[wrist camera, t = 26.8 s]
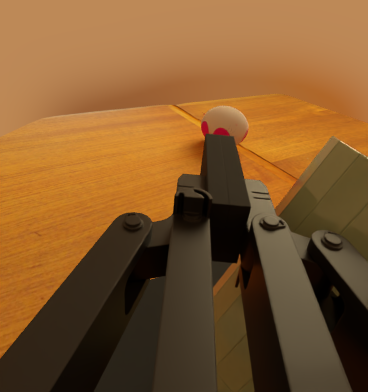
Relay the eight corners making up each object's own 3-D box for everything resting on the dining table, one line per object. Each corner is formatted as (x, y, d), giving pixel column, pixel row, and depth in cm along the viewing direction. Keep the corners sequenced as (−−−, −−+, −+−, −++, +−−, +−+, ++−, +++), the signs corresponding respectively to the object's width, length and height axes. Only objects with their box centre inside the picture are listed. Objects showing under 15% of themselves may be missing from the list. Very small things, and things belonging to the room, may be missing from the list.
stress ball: (194, 157, 50) (178, 129, 45) (223, 123, 52) (212, 92, 46) (230, 175, 45) (217, 146, 40) (261, 137, 47) (253, 104, 42)
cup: (235, 446, 13) (488, 232, 8) (169, 306, 17) (305, 119, 13) (315, 402, 17) (511, 246, 12) (246, 299, 22) (369, 158, 17)
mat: (194, 899, 7) (197, 909, 7) (64, 313, 20) (63, 307, 20) (525, 452, 16) (534, 447, 16) (285, 239, 29) (287, 235, 29)
